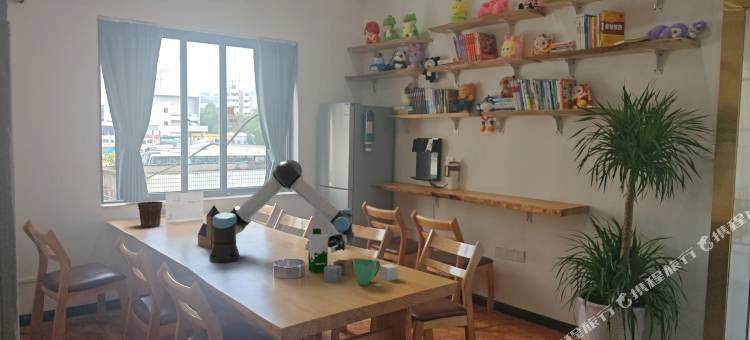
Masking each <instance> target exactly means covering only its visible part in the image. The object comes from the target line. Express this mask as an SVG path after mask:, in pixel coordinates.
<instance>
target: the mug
mask: <svg viewBox="0 0 750 340" xmlns="http://www.w3.org/2000/svg"><path fill="white" fill-rule="evenodd" d="M380 265H381V263H380V261H379V260H378V259H369V258H357V259H353V261H352V266H353V271H354V276H355V279H356V282H357V284H358V285H360V286H367V285H369V284H370V282H371V281H372V280H373V279H374V278H375V277H376V275H377V274H378V272H380Z"/></svg>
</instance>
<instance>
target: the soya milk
mask: <svg viewBox="0 0 750 340" xmlns="http://www.w3.org/2000/svg"><path fill="white" fill-rule="evenodd" d="M329 237H330V236H329V234H328V233H325V232H323V231H322V229H321V228H312V232H310V233H308V241H309V250H308V257H307V258H308V270H309V271H310V272H312V273H313V274H316V273H317V274H319V273H320V274H321V273H324V267H326V266H328V261H329V259H328V257H329V256H328V255H329V251H328V248H329V247H328V239H329Z"/></svg>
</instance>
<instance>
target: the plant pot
mask: <svg viewBox="0 0 750 340" xmlns="http://www.w3.org/2000/svg"><path fill="white" fill-rule="evenodd" d="M163 203H164V202H163V201H154V200H153V201H142V202H137V207H138V213H139V220H140V227H142V228H150V227H151V228H155V227H159V226H161V215H162V208H163Z"/></svg>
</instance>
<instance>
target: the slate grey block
mask: <svg viewBox="0 0 750 340" xmlns="http://www.w3.org/2000/svg"><path fill="white" fill-rule="evenodd" d="M342 277H343V276H342V266H337V265H333V264H329V265H328V264H327V266H326V267H324V272H323V281H326V282H333V283H336V282H338V281H341V280H342V279H343V278H342Z"/></svg>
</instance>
